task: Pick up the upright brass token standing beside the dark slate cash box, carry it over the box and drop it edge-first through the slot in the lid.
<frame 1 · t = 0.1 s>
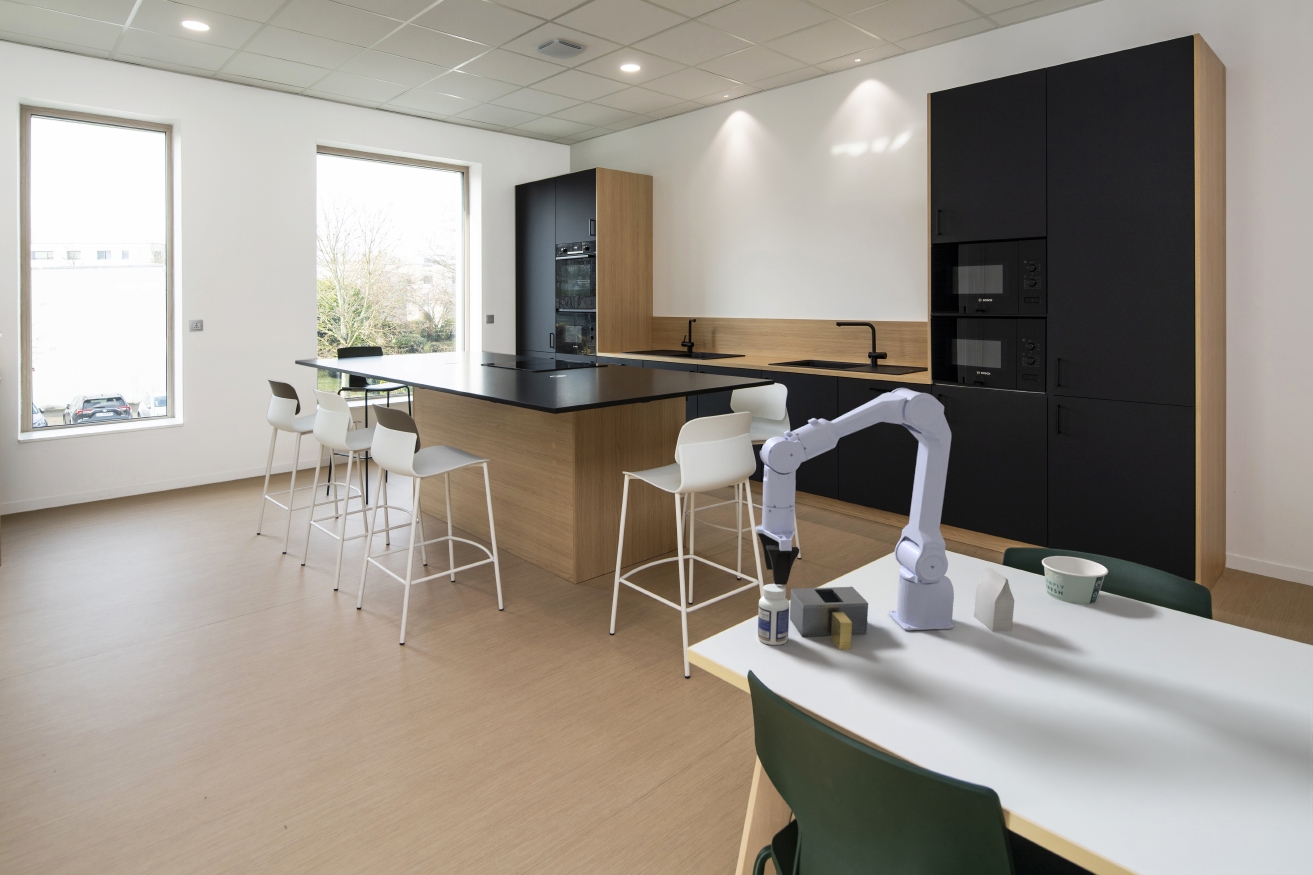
hand: (776, 576, 138), 10 cm above the table, fingers open, 7 cm apart
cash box: (827, 626, 141), on the table
brass token: (840, 643, 134), on the table
white gabled box: (992, 624, 143), on the table
pill bottle: (772, 640, 135), on the table
food container: (1071, 596, 157), on the table
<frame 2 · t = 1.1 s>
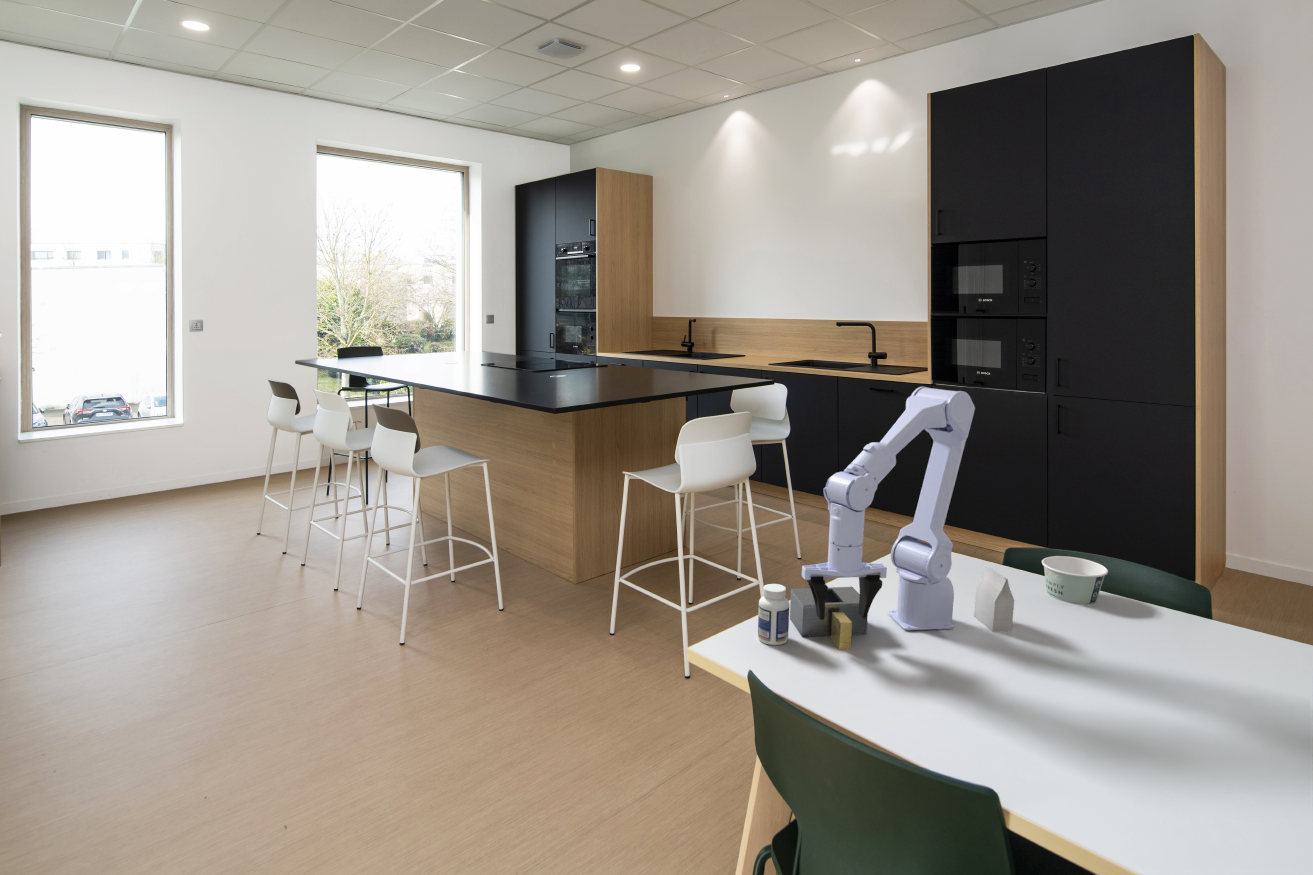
hand: (841, 616, 133), 5 cm above the table, fingers open, 7 cm apart
nothing on the table moved.
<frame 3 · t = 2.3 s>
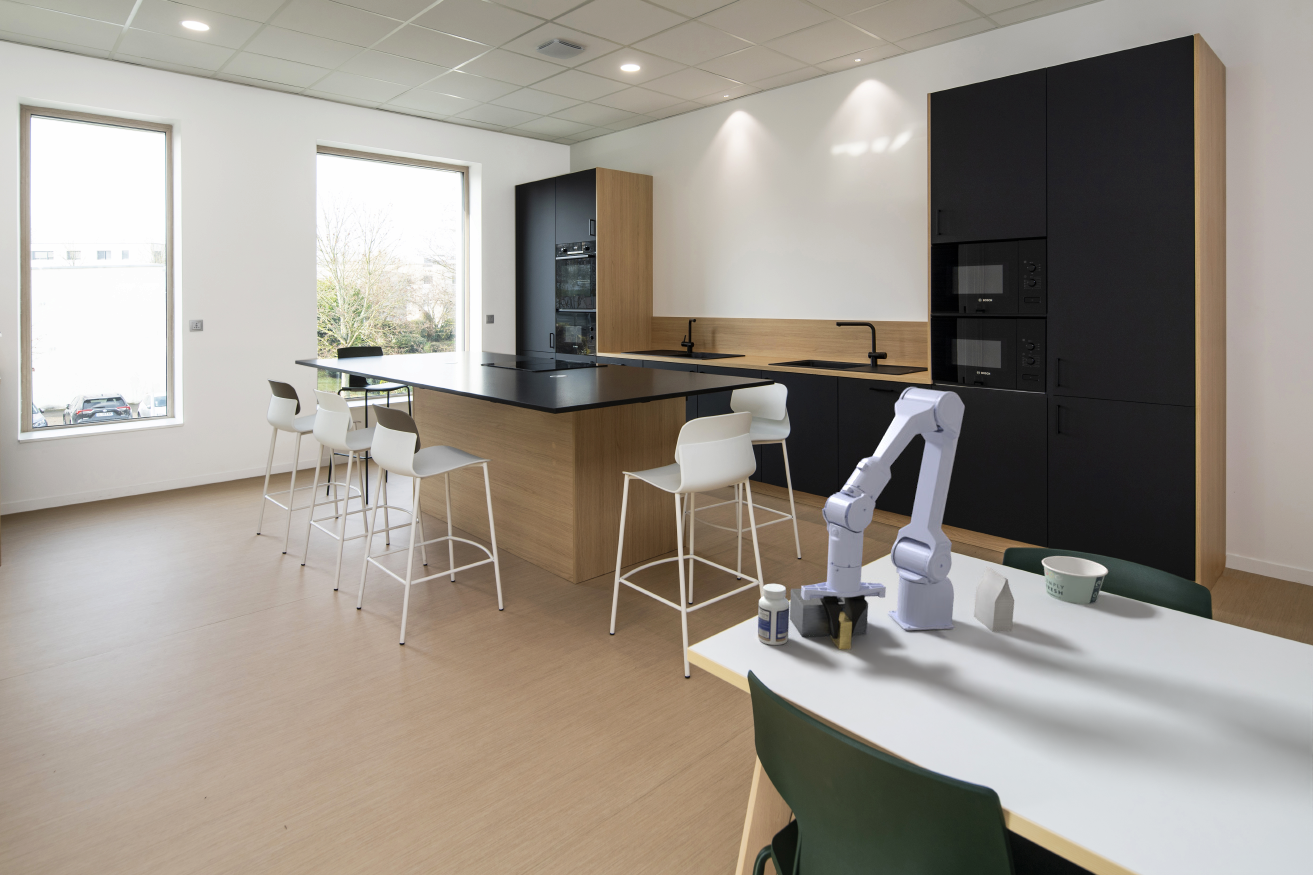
hand: (840, 635, 134), 1 cm above the table, fingers closed on brass token, 2 cm apart
brass token: (840, 643, 134), on the table, touching gripper
everything else where it was.
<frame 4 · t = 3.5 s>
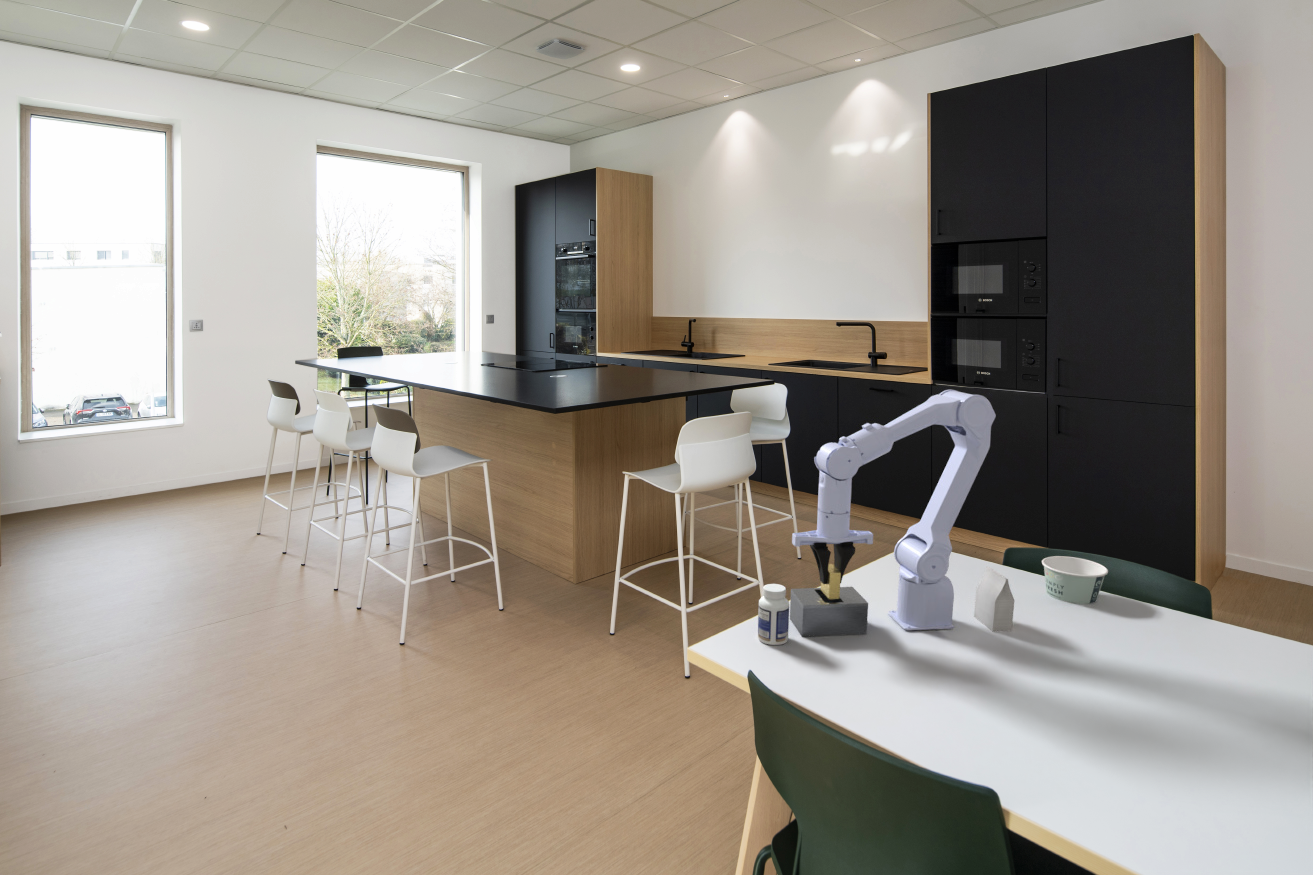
hand: (830, 581, 139), 9 cm above the table, fingers closed on brass token
brass token: (829, 594, 139), point 6 cm above the table, touching gripper
everything else where it was.
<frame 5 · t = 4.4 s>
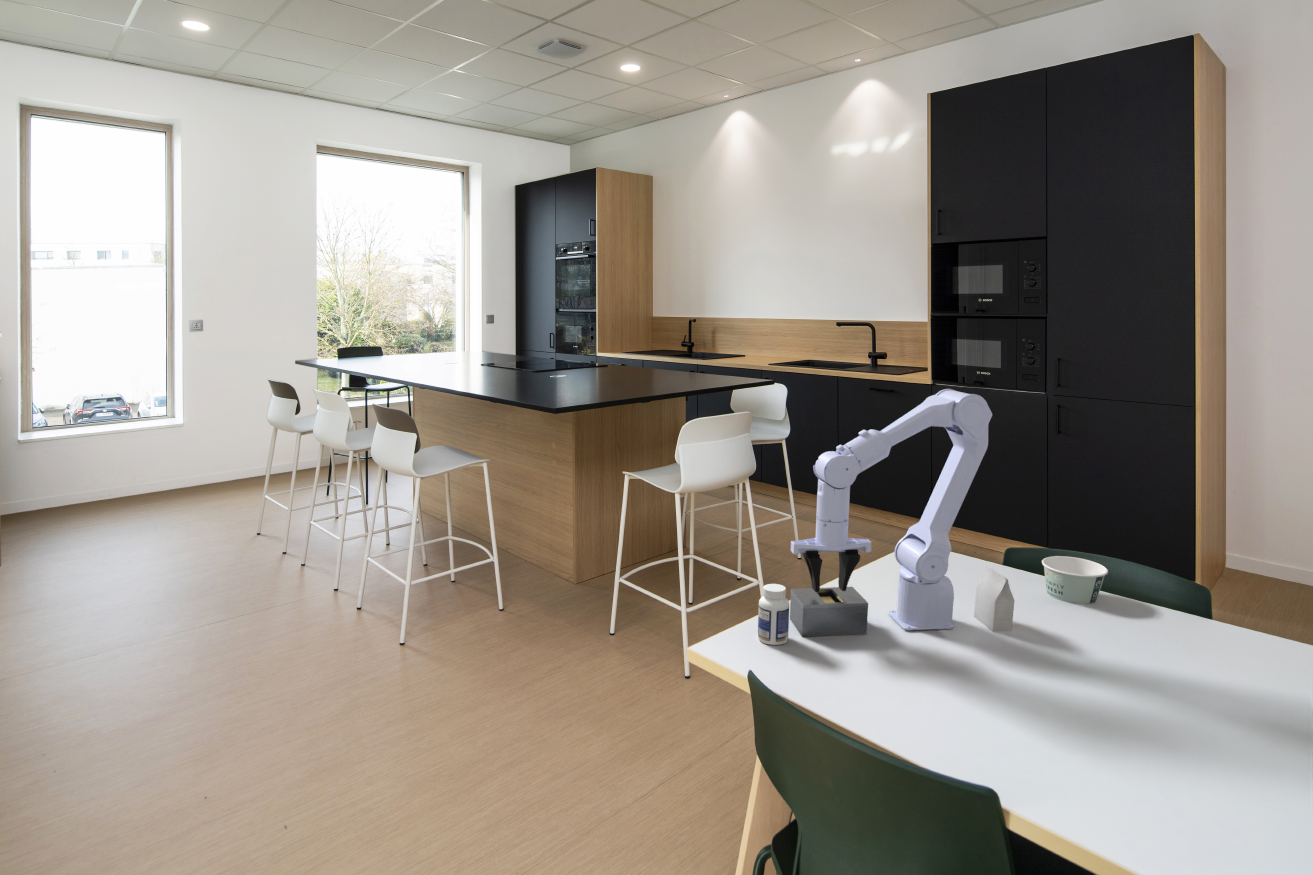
hand: (828, 589, 140), 7 cm above the table, fingers open, 4 cm apart
brass token: (827, 626, 141), resting in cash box
everything else where it was.
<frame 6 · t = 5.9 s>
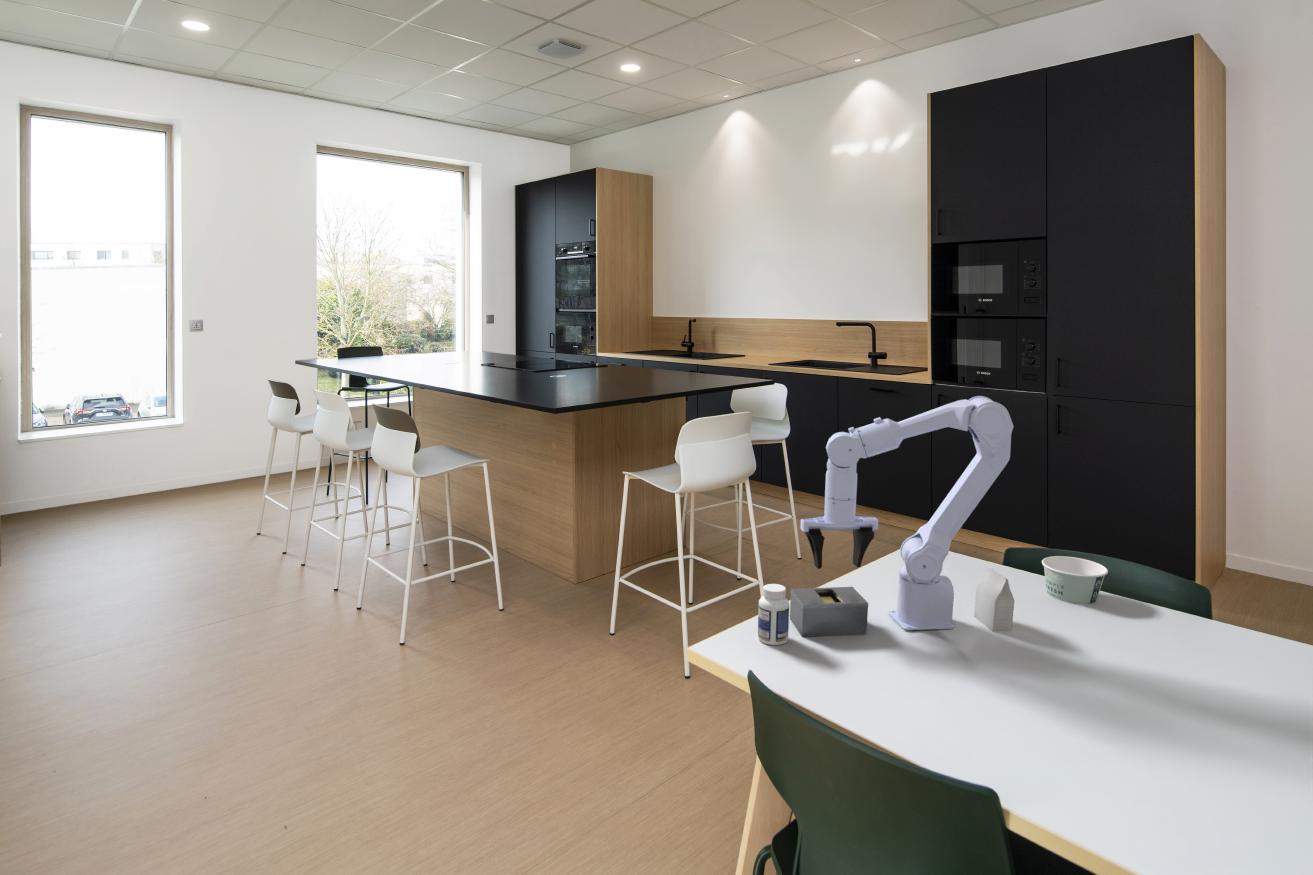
hand: (837, 566, 144), 10 cm above the table, fingers open, 7 cm apart
nothing on the table moved.
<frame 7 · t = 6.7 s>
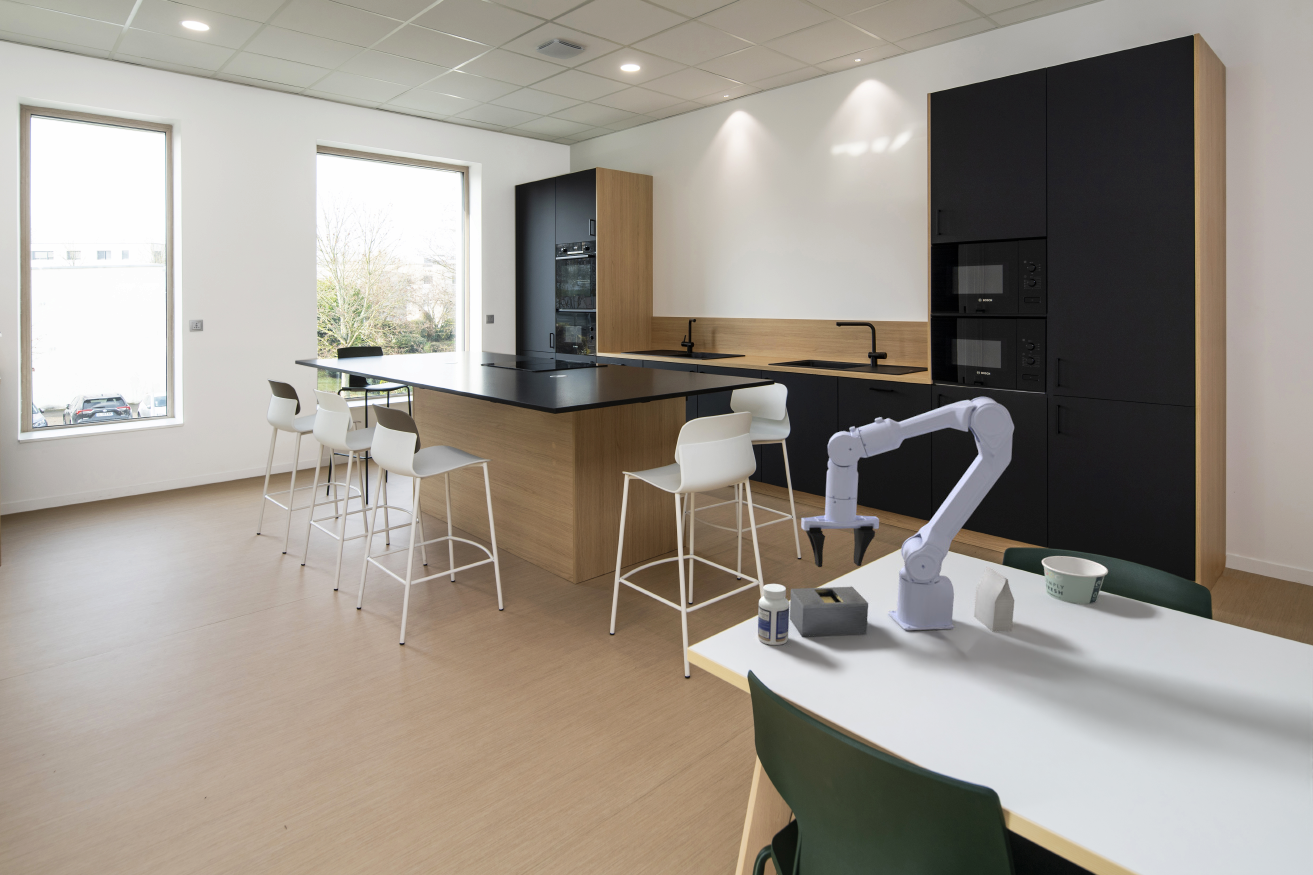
hand: (838, 564, 145), 10 cm above the table, fingers open, 7 cm apart
nothing on the table moved.
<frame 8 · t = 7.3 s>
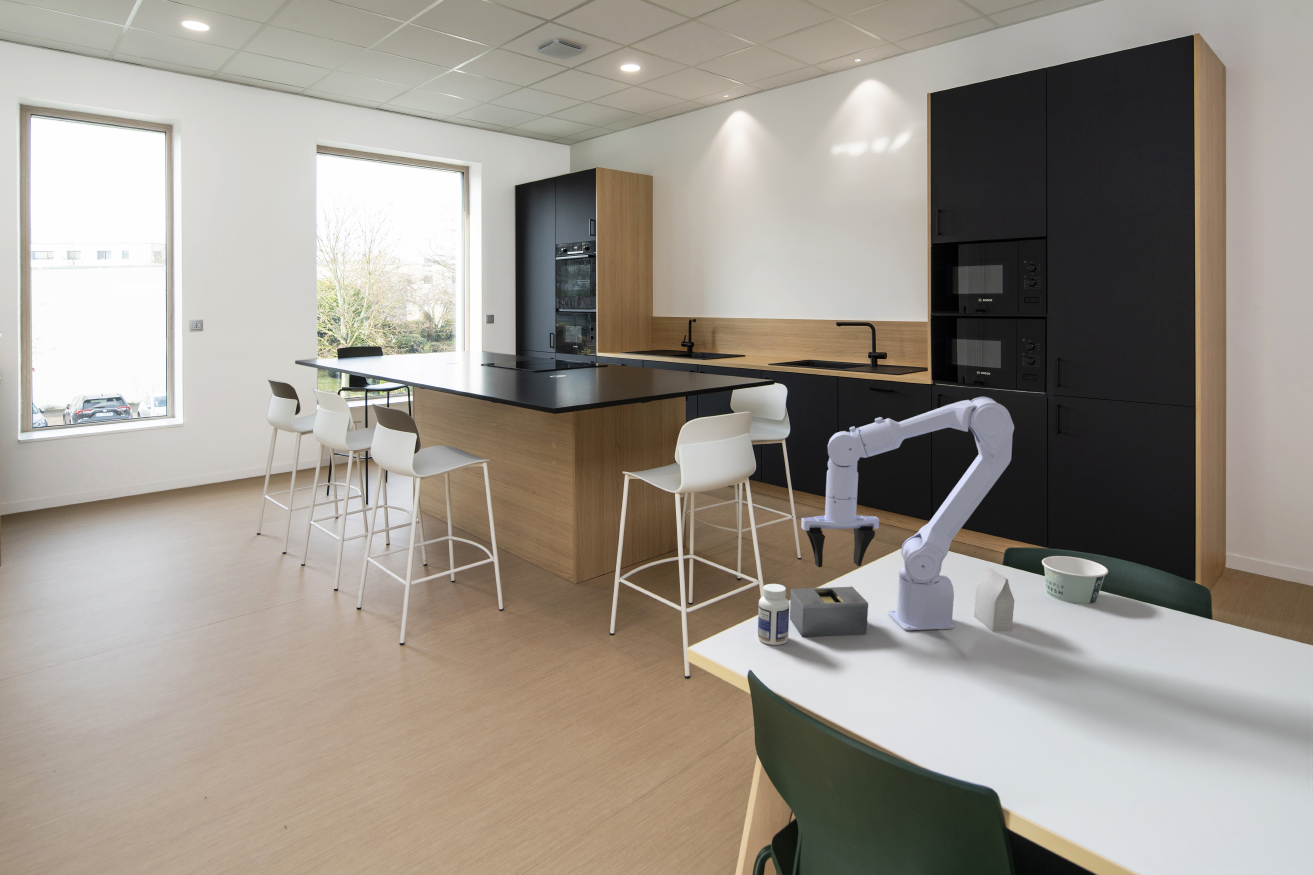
hand: (838, 564, 145), 10 cm above the table, fingers open, 7 cm apart
nothing on the table moved.
at the end: brass token inside the target area on the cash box (0.1 cm from its centre), point 0.0 cm above the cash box's base; the gripper is holding nothing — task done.
